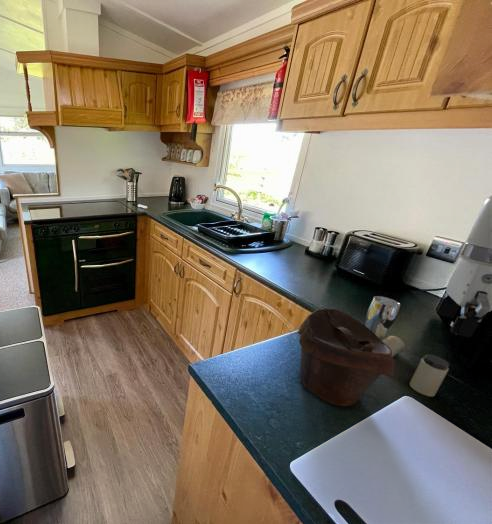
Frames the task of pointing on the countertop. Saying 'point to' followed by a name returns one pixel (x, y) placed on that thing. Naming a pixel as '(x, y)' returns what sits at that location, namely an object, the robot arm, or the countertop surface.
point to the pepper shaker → (429, 375)
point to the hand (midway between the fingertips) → (451, 324)
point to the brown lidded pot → (341, 356)
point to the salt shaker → (394, 344)
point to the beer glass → (381, 315)
